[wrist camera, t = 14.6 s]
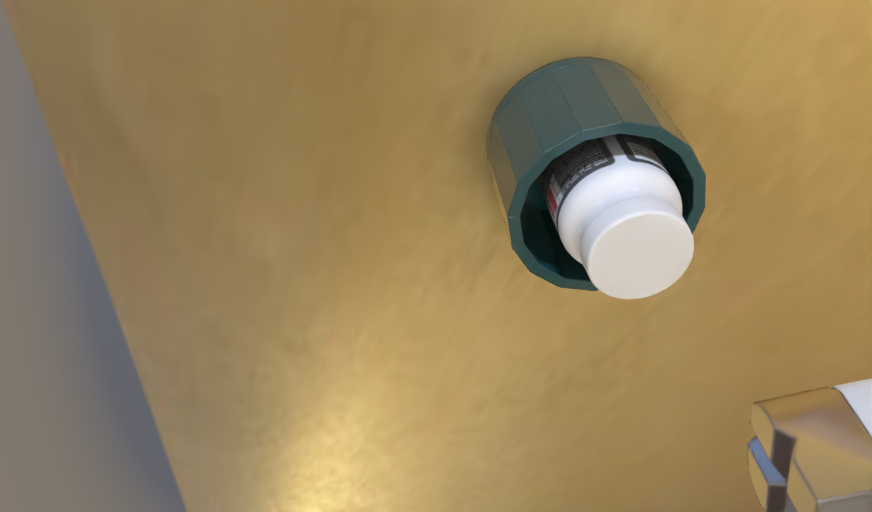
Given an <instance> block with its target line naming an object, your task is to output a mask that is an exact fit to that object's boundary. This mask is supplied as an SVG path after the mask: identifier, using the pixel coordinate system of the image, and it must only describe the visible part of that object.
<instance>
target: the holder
mask: <svg viewBox="0 0 872 512" xmlns="http://www.w3.org/2000/svg"><path fill="white" fill-rule="evenodd" d="M620 133H621V134H627V135H634V136H640V137H645V138H646V139H647V141H648V142H649V144H650V145H651V147H652V149H653V150H654V152H655V153H656V155H657V156H658V158H659V159H660V161H661V162H662V164H663V166H664V167H665V169H666V170H667V172H668V173H669V175H670V176H671V178H672V179H673V181H674V183H675V184H676V187H677V189H678V191H679V193H680V196H681V200H682V216H683V218H684V220H685V221H686V223H687V225H688V227H689V229H690V231H691V233H692V234H693V232H694V230H695V228H696V226H697V224H698V222H699V220H700V217H701V215H702V213H703V211H704V208H705V183H706V176H705V172H704V171H703V169H702V167H701V165H700V163H699V161H698V159H697V157H696V155H695V153H694V151H693V149H692V147H691V146H690V145H689V143H688V142H687V140H686V139H685V137H684V136H683V135H682V133H681V132H680V130H679V129H678V128H677V126H676V125H675V123H674V122H673V121H672V119H671V118H670V116H669V115H668V114H667V112H666V111H665V109H664V108H663V106H662V105H661V104H660V102H659V101H658V99H657V98H656V97H655V95H654V94H653V92H652V91H651V90H650V88H649V87H648V86H647V85H645V84H644V83H643V82H642V80H641V79H640V78H639V77H638V76H636V75H635V74H634V73H633V72H632V71H630V70H628V69H627V68H625V67H623V66H622V65H619V64H617V63H614V62H612V61H607V60H603V59H598V58H573V59H566V60H562V61H558V62H555V63H552V64H549V65H547V66H544V67H542V68H540V69H538V70H536V71H535V72H533V73H531V74H529V75H528V76H527V77H525V78H524V79H522V80H521V81H520V82H519V83H518V84H517V85H515V86H514V87H513V88H512V89H511V90H510V91H509V93H508V94H507V95H506V96H505V97H504V98H503V100H502V101H501V103H500V104H499V106H498V107H497V109H496V111H495V113H494V115H493V117H492V120H491V122H490V125H489V129H488V133H487V139H486V154H487V161H488V165H489V169H490V174H491V179H492V183H493V186H494V189H495V193H496V196H497V199H498V203H499V206H500V209H501V213H502V216H503V219H504V223H505V226H506V229H507V233H508V236H509V239H510V243H511V246H512V249H513V250H514V251H515V253H516V254H517V255H518V257H519V258H520V259H521V261H522V262H523V263H524V265H525V266H526V267H527V269H528V270H529V271H530V272H531V273H533V274H535V275H537V276H539V277H541V278H542V279H544V280H546V281H548V282H550V283H552V284H554V285H556V286H558V287H561V288H570V289H580V290H589V291H597V290H599V289H597V288H596V287H595V285H594V284H593V283H592V281H591V280H590V278H589V276H588V274H587V272H586V270H585V268H584V266H583V264H581V263H580V262H578V261H577V260H576V259H574V258H573V257H572V256H571V255H570V254H569V252H568V251H567V250H566V248H565V247H564V245H563V243H562V241H561V239H560V237H559V234H558V231H557V229H556V227H555V224H554V222H553V219H552V217H551V214H550V212H549V209H548V207H547V204H546V202H545V199H544V197H543V195H542V192H541V190H540V187H539V185H538V182H537V180H536V179H537V178H538V176H539V175H540V174H541V173H542V172H543V171H544V169H545V168H546V167H547V166H548V165H549V163H550V162H551V161H552V160H553V159H555V158H557V157H558V156H560V155H562V154H563V153H565V152H567V151H568V150H570V149H572V148H573V147H575V146H577V145H579V144H580V143H582V142H584V141H587V140H592V139H596V138H601V137H606V136H611V135H616V134H620Z"/></svg>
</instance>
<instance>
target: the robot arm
mask: <svg viewBox="0 0 872 512" xmlns="http://www.w3.org/2000/svg"><path fill="white" fill-rule="evenodd" d="M749 422H750V424H751V426H752V428H753V430H754V432H755V434H756V436H755V437H754V438H753V439H752V440H751V441H750V442H749V443H748V448H747V463H748V468H749V473H750V479H751V483H752V485H753V488H754V491H755V494H756V496H757V499H758V501H759V503H760V505H761V507H762V509H763V511H764V512H872V379H865V380H861V381H856V382H851V383H846V384H841V385H837V386H832V387H828V386H827V387H822V388H818V389H813V390H808V391H804V392H799V393H795V394H790V395H785V396H781V397H776V398H771V399H767V400H762V401H758V402H754V404H753V405H752V407H751V409H750V419H749Z"/></svg>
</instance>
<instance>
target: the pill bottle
mask: <svg viewBox="0 0 872 512" xmlns="http://www.w3.org/2000/svg"><path fill="white" fill-rule="evenodd" d="M536 180H537V182H538V185H539V187H540V190H541V192H542V195H543V197H544V199H545V202H546V204H547V207H548V209H549V212H550V214H551V217H552V219H553V222H554V224H555V227H556V229H557V231H558V234H559V237H560V239H561V241H562V243H563V245H564V247H565V248H566V250H567V251H568V252H569V254H570V255H571V256H572V257H573V258H574V259H576V260H577V261H578V262H580V263H581V264H583V266H584V268H585V270H586V272H587V274H588V276H589V278H590V280H591V281H592V283H593V284H594V285H595V287H596V288H597V289H599V290H600V291H601V292H603V293H605V294H607V295H609V296H611V297H614V298H619V299H640V298H645V297H648V296H652V295H654V294H657V293H659V292H661V291H663V290H665V289H666V288H668V287H669V286H671V285H672V284H673V283H675V282H676V281H677V280H678V279H679V278H680V277H681V276H682V275H683V273H684V272H685V271H686V269H687V268H688V266H689V264H690V262H691V260H692V257H693V252H694V239H693V235H692V233H691V231H690V229H689V227H688V225H687V223H686V221H685V220H684V218H683V216H682V200H681V196H680V193H679V191H678V189H677V187H676V184H675V183H674V181H673V179H672V178H671V176H670V175H669V173H668V172H667V170H666V169H665V167H664V166H663V164H662V162H661V161H660V159H659V158H658V156H657V155H656V153H655V152H654V150H653V149H652V147H651V145H650V144H649V142H648V141H647V139H646V138H645V137H640V136H634V135H627V134H621V133H620V134H616V135H611V136H606V137H601V138H596V139H592V140H587V141H584V142H582V143H580V144H579V145H577V146H575V147H573V148H572V149H570V150H568V151H567V152H565V153H563V154H562V155H560V156H558V157H557V158H555V159H553V160H552V161H551V162H550V163H549V165H548V166H547V167H546V168H545V169H544V171H543V172H542V173H541V174H540V175H539V176H538V178H537V179H536Z"/></svg>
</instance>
